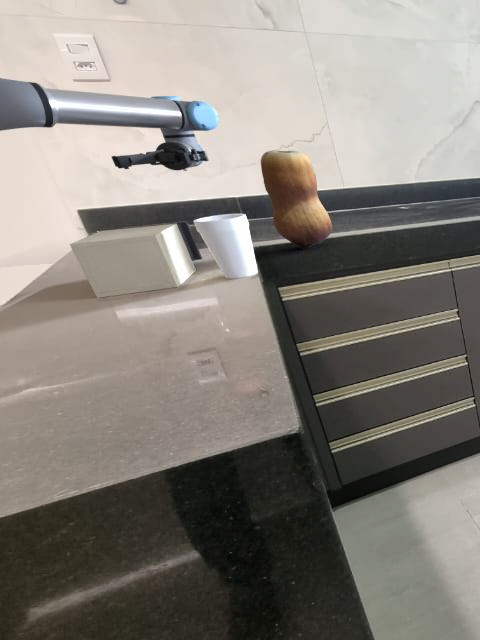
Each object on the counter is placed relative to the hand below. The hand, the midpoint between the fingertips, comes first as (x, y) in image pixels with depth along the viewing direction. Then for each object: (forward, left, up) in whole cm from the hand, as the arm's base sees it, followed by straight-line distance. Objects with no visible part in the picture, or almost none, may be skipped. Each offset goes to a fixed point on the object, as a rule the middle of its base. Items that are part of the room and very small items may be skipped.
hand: (151, 160), depth 134 cm
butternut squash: (+30, -12, -24) cm, 40 cm away
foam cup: (+18, -36, -24) cm, 47 cm away
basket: (0, -18, -23) cm, 29 cm away
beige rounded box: (0, -32, -24) cm, 40 cm away
